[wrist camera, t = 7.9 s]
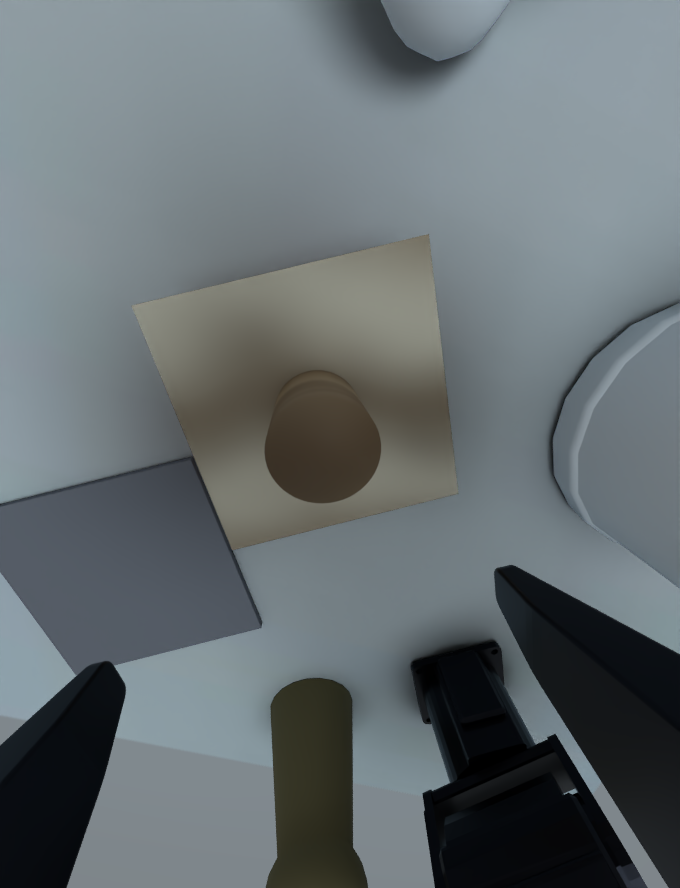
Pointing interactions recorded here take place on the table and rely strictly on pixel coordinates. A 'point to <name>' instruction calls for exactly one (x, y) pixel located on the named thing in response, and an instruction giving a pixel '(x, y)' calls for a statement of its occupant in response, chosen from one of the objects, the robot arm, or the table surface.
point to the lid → (311, 390)
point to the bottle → (628, 442)
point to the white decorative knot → (442, 24)
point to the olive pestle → (314, 787)
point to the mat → (125, 566)
